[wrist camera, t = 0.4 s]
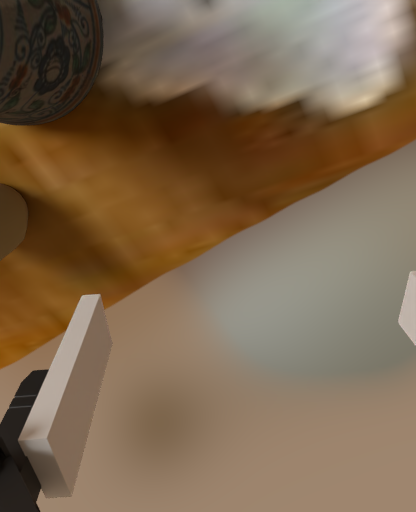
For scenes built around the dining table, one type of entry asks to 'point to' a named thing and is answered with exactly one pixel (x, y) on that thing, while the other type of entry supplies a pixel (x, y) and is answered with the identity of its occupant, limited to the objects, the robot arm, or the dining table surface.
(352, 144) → the dining table surface
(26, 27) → the beer stein
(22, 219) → the squeeze bottle
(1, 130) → the dining table surface
